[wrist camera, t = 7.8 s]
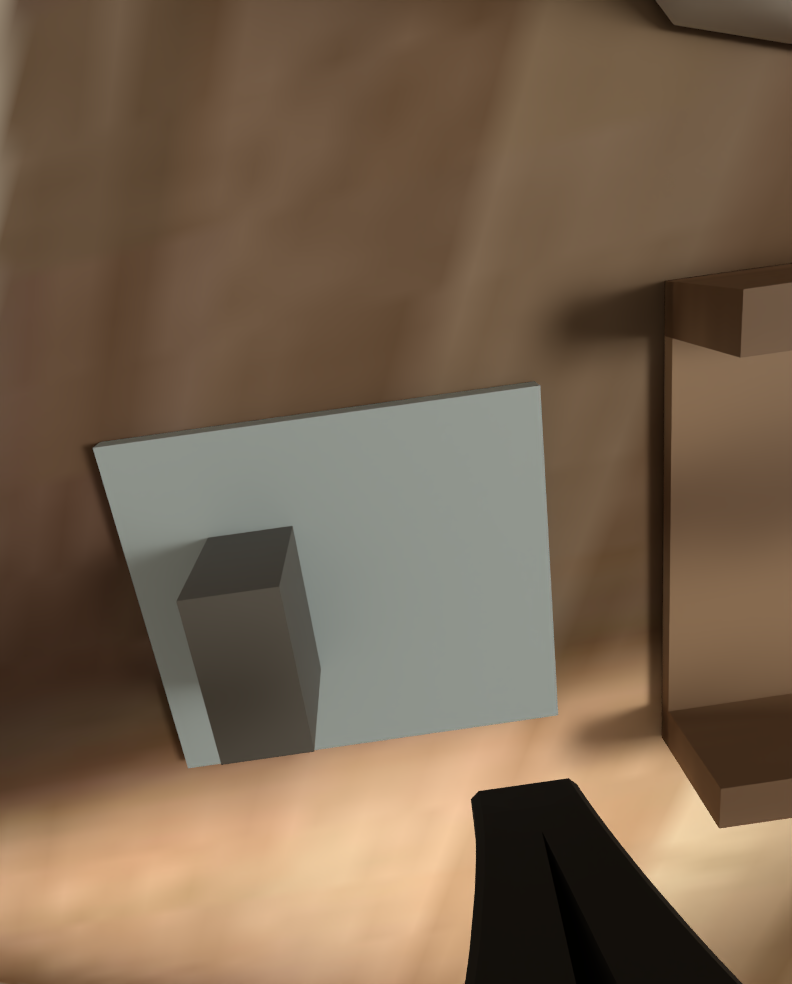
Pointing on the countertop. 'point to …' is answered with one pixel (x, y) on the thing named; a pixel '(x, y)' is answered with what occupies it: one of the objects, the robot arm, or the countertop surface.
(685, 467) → the box
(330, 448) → the cover plate
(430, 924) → the countertop surface
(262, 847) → the countertop surface
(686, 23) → the flask
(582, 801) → the robot arm
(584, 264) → the countertop surface
